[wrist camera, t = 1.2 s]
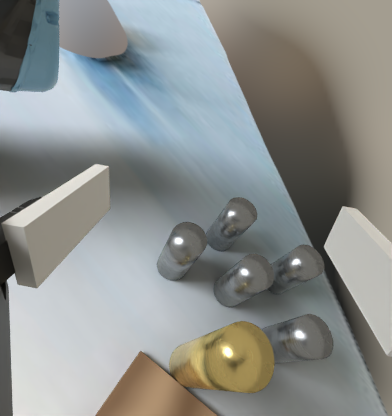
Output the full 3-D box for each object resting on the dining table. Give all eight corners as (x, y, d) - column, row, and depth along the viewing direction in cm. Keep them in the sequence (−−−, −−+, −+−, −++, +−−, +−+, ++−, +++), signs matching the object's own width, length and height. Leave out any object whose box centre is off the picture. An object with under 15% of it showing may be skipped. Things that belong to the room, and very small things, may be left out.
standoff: (161, 370, 26) (207, 364, 15) (182, 336, 29) (235, 309, 18) (191, 396, 26) (261, 409, 15) (210, 358, 28) (282, 346, 17)
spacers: (150, 267, 32) (163, 239, 25) (199, 210, 39) (218, 178, 33) (280, 370, 30) (328, 368, 23) (305, 290, 37) (347, 272, 31)
